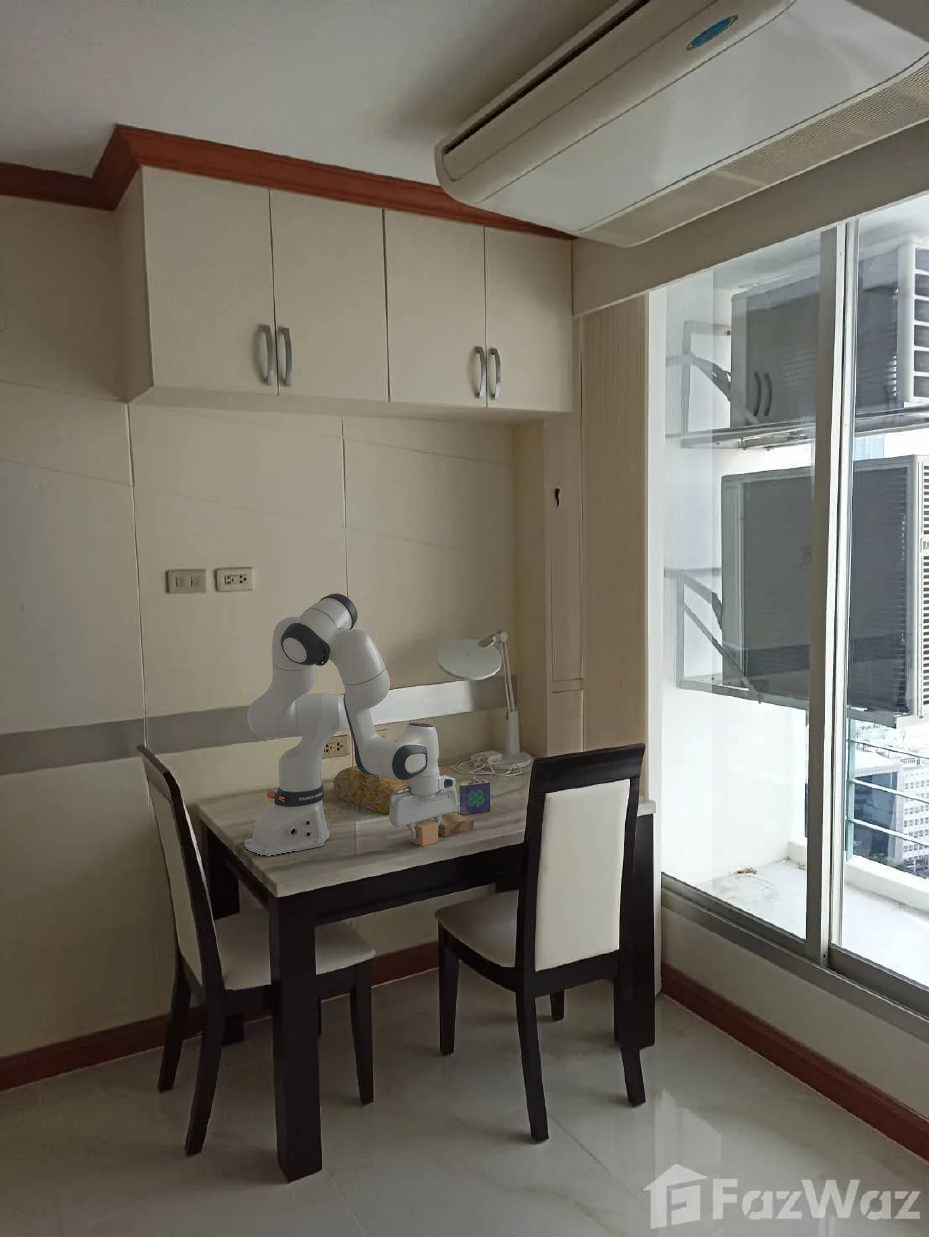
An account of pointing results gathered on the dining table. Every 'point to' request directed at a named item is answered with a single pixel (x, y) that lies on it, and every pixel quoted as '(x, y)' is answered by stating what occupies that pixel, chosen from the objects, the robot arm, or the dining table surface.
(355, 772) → the bread
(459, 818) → the walnut plinth
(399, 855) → the dining table surface
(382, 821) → the dining table surface
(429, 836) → the terracotta block
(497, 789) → the dining table surface
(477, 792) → the flask
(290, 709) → the robot arm
